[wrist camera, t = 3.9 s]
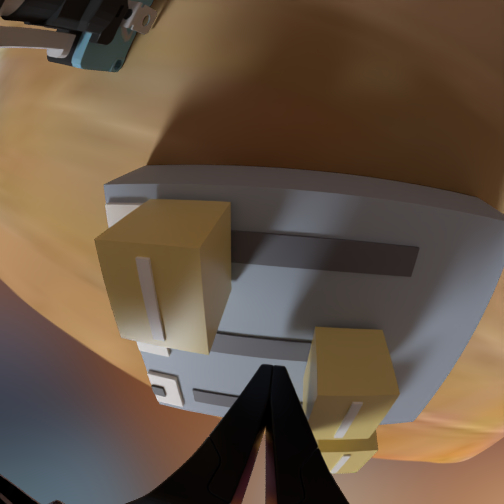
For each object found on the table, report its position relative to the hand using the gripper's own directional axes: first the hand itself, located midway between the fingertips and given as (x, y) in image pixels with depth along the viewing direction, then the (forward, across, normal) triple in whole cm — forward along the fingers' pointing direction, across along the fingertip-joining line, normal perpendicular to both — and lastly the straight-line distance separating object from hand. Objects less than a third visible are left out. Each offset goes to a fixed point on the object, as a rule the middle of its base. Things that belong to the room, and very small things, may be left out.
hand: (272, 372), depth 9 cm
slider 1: (+1, +3, -4) cm, 5 cm away
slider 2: (+1, -2, 0) cm, 3 cm away
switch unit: (+4, -1, 0) cm, 4 cm away
